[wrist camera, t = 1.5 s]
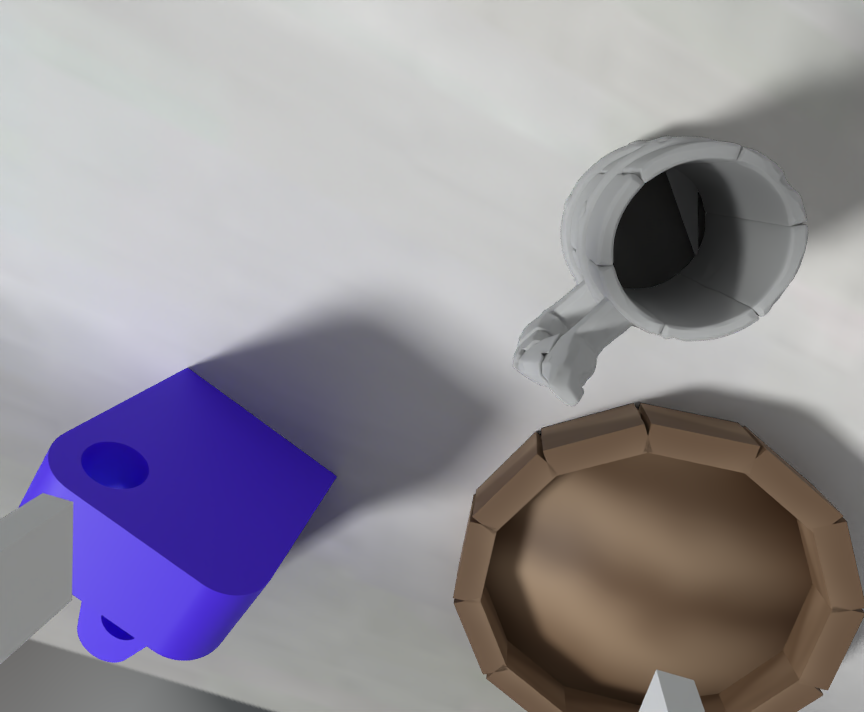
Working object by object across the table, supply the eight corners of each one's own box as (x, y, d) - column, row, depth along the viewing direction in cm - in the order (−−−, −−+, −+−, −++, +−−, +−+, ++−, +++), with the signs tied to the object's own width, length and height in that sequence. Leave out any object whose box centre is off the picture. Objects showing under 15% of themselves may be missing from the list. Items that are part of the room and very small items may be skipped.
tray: (499, 374, 30) (497, 391, 28) (891, 454, 28) (929, 481, 26) (438, 662, 36) (431, 699, 34) (758, 745, 34) (778, 791, 32)
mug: (761, 223, 26) (941, 247, 15) (572, 389, 30) (602, 510, 19) (647, 105, 26) (745, 38, 14) (469, 289, 29) (434, 352, 18)
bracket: (188, 367, 33) (21, 456, 22) (337, 475, 34) (247, 615, 23) (72, 561, 39) (-108, 710, 28) (201, 651, 40) (75, 833, 28)
